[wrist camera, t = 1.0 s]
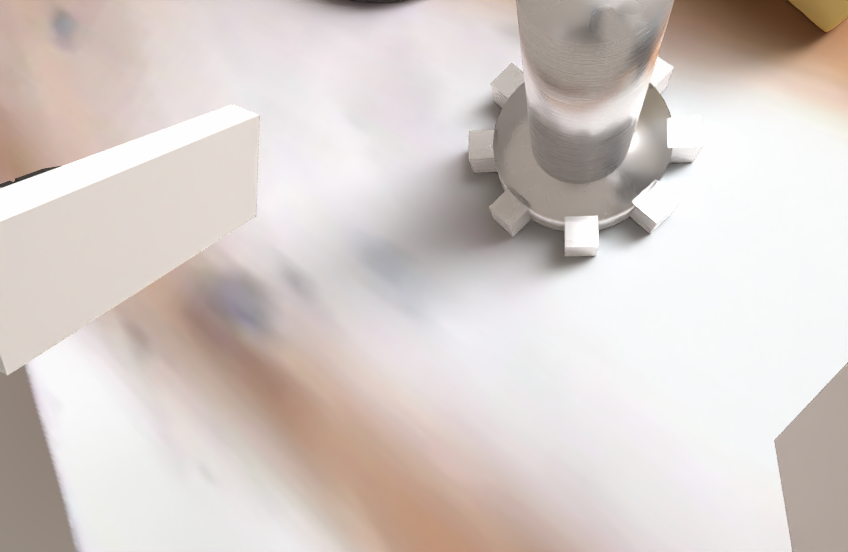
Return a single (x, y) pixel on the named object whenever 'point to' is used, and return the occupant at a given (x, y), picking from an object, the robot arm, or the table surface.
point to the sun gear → (585, 121)
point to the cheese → (823, 12)
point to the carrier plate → (377, 1)
